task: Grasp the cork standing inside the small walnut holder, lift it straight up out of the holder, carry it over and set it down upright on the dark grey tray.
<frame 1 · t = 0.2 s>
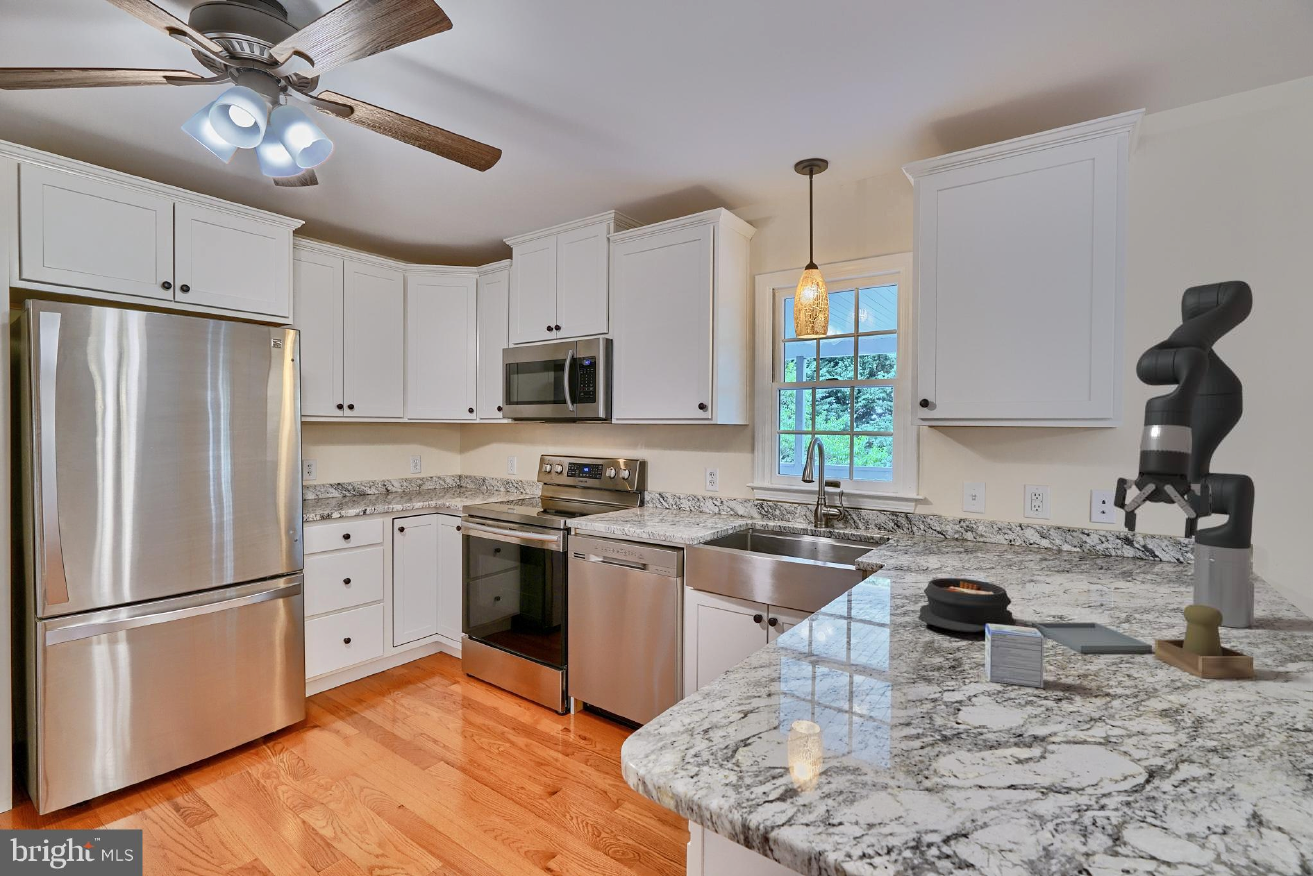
hand: (1158, 534, 115), 22 cm above the worktop, tool pointing down, fingers open, 8 cm apart
tray: (1088, 640, 122), on the worktop
holder: (1201, 667, 108), on the worktop
cork: (1201, 668, 108), resting in holder
casserole: (965, 625, 132), on the worktop
medicine box: (1012, 681, 101), on the worktop
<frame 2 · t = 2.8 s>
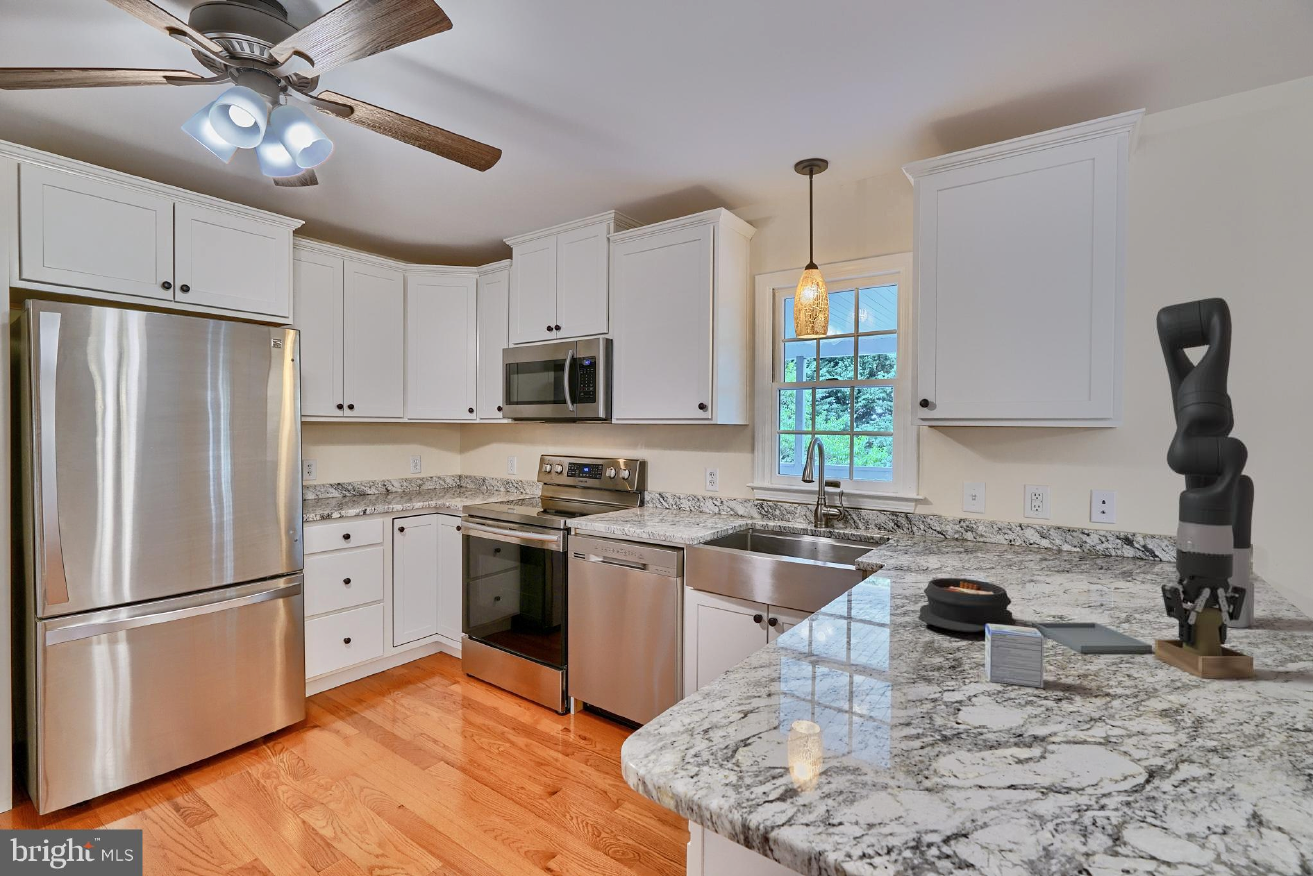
hand: (1202, 642, 108), 4 cm above the worktop, tool pointing down, fingers closed on cork, 5 cm apart
cork: (1201, 668, 108), resting in holder, touching gripper
everything else where it was.
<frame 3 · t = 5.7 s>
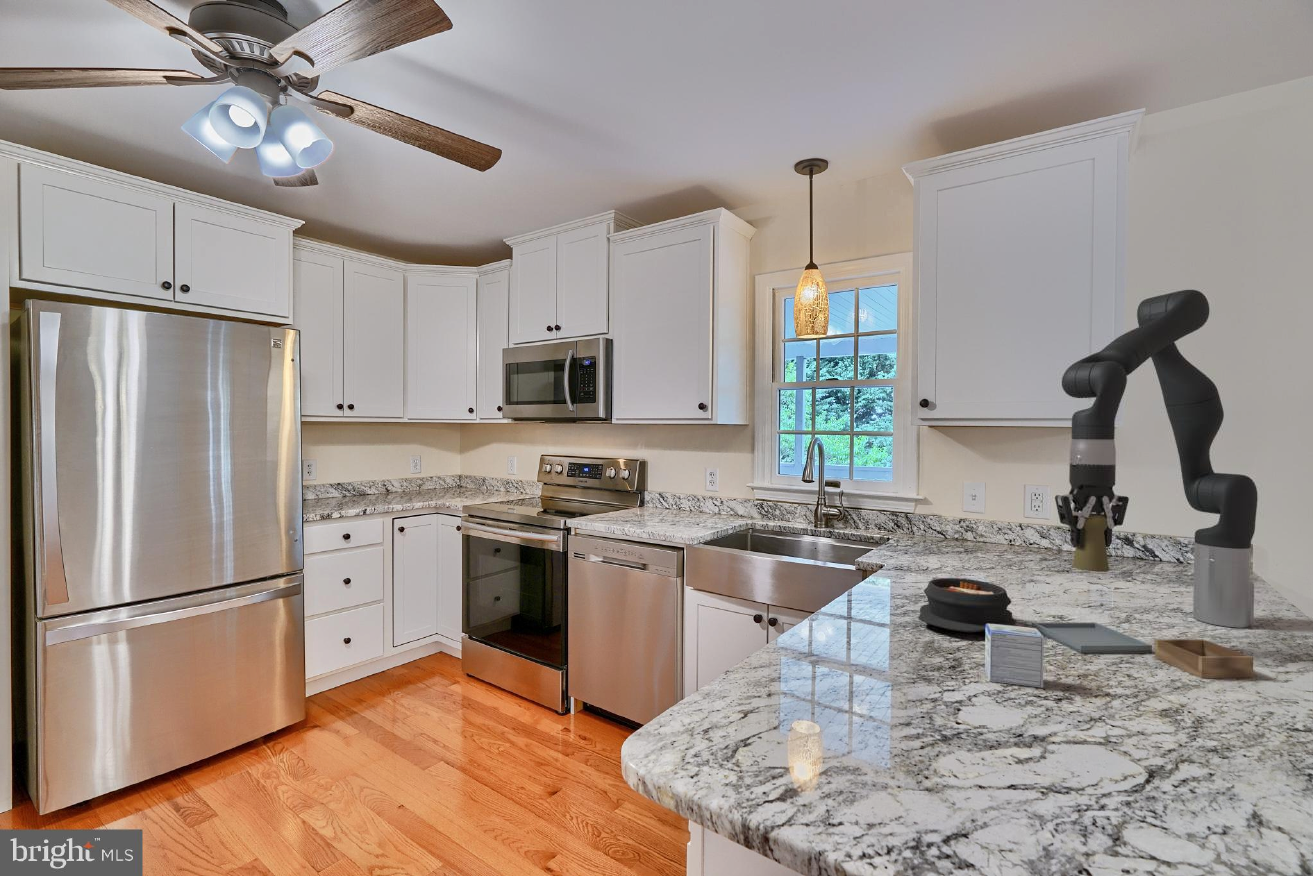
hand: (1090, 546, 121), 19 cm above the worktop, tool pointing down, fingers closed on cork, 5 cm apart
cork: (1090, 569, 121), point 14 cm above the worktop, touching gripper
everything else where it was.
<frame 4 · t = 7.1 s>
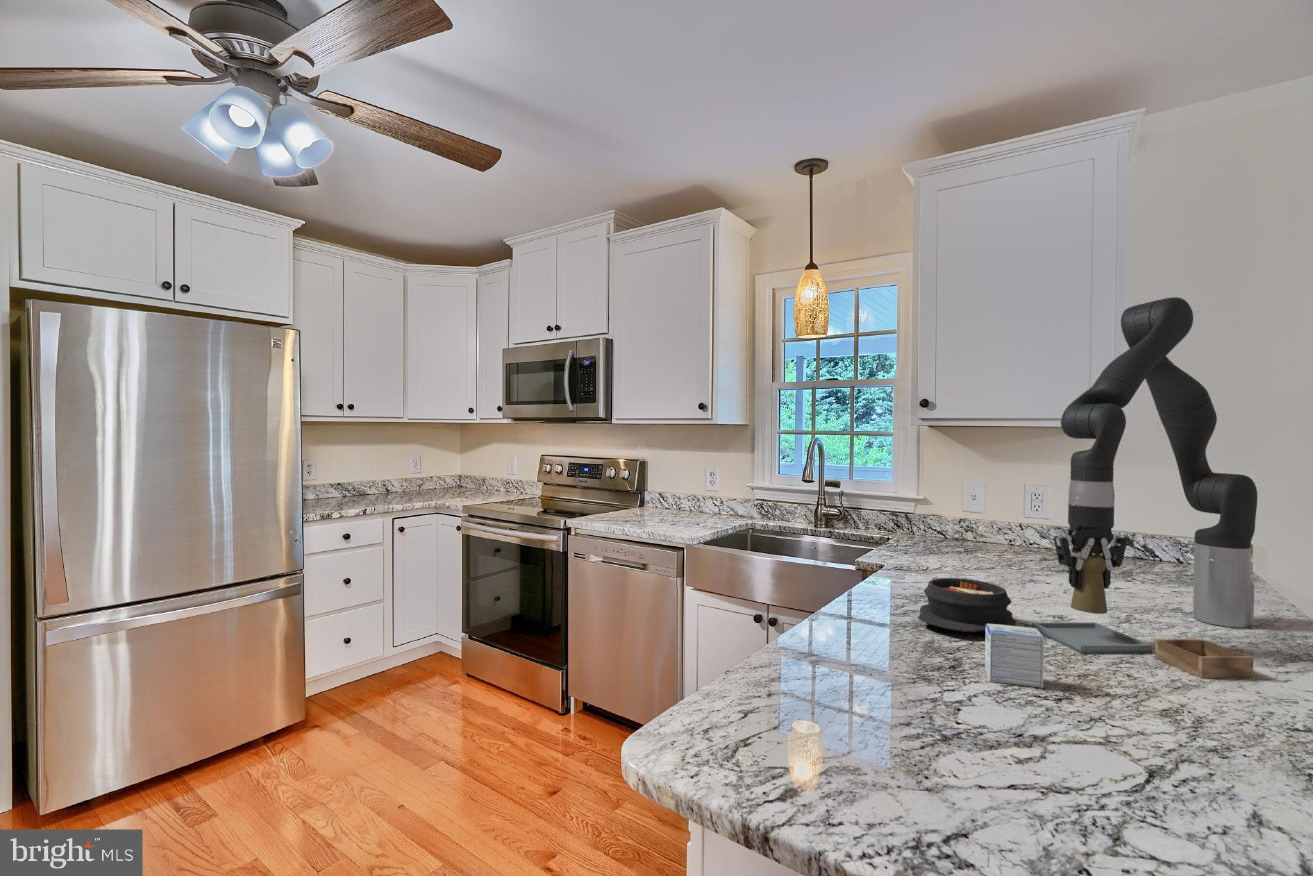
hand: (1089, 587, 122), 11 cm above the worktop, tool pointing down, fingers closed on cork, 5 cm apart
cork: (1088, 610, 122), point 6 cm above the worktop, touching gripper
everything else where it was.
when the fingers open (6 cm above the worktop, at t = 8.4 s): cork drops 1 cm, resting on tray.
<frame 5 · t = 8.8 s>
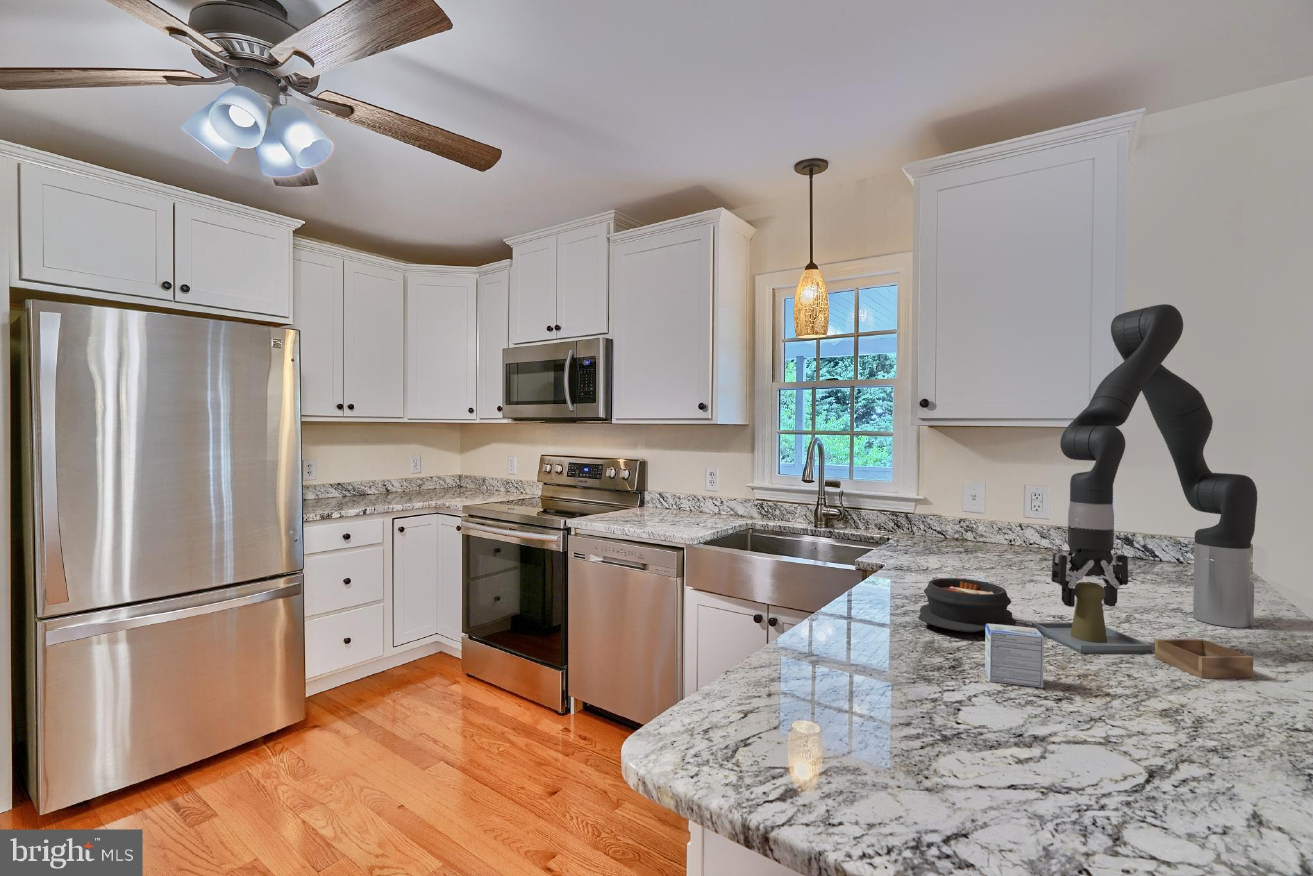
hand: (1089, 605, 122), 7 cm above the worktop, tool pointing down, fingers open, 8 cm apart
cork: (1088, 638, 122), resting on tray
everything else where it was.
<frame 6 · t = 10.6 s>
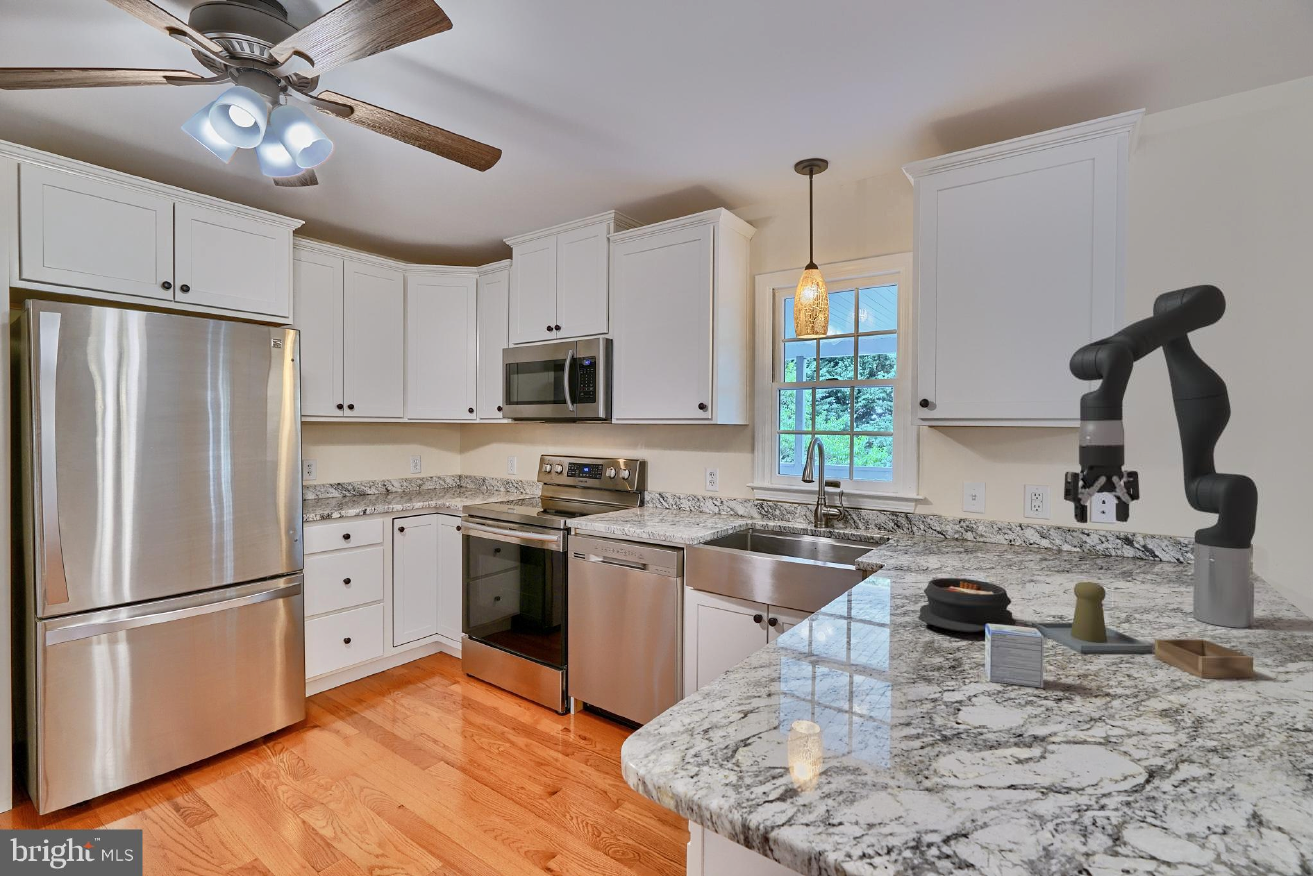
hand: (1101, 522, 124), 24 cm above the worktop, tool pointing down, fingers open, 8 cm apart
nothing on the worktop moved.
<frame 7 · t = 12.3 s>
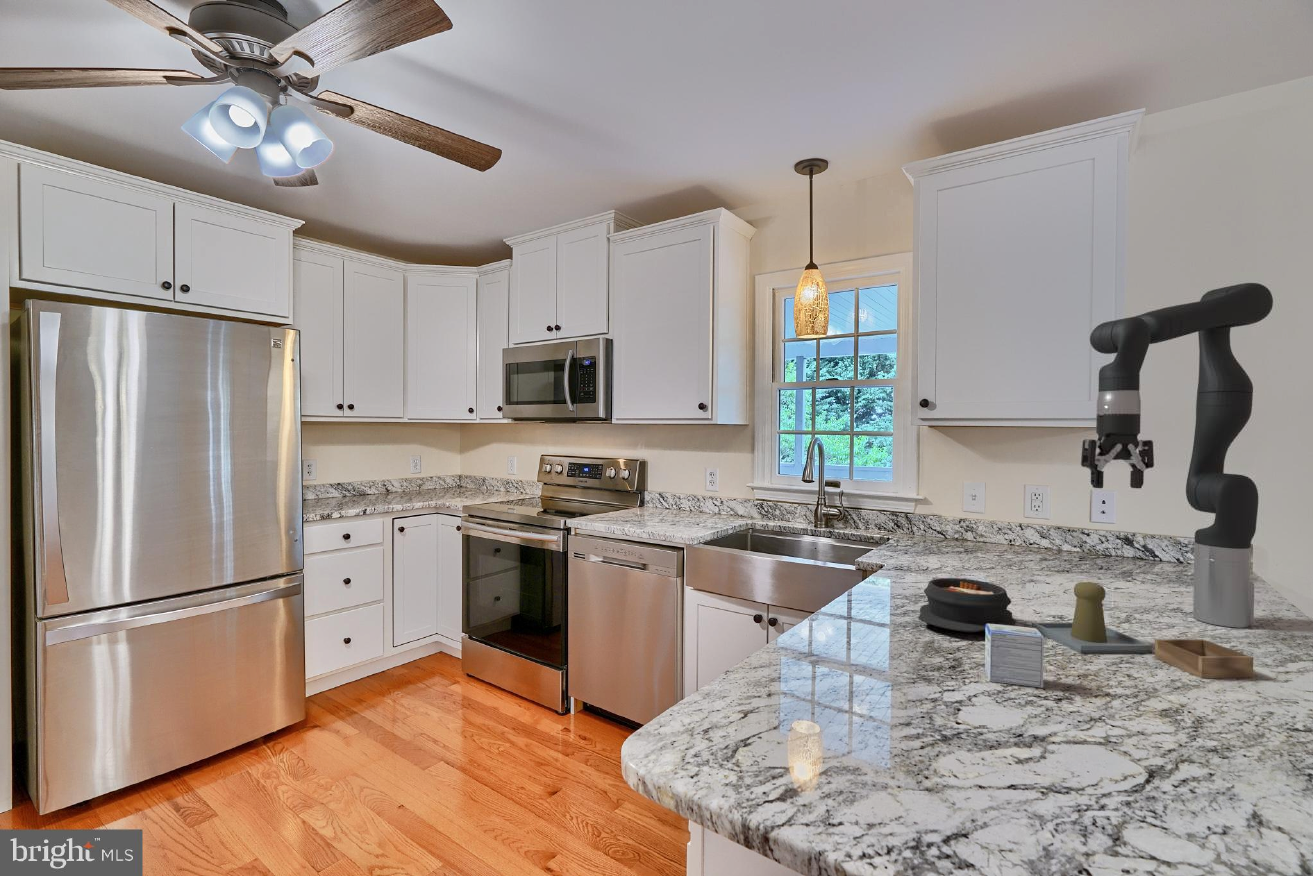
hand: (1116, 488, 130), 30 cm above the worktop, tool pointing down, fingers open, 8 cm apart
nothing on the worktop moved.
at the end: cork inside the target area on the tray (0.0 cm from its centre), point 0.4 cm above the tray's base; cork tilted 0°; the gripper is holding nothing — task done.
